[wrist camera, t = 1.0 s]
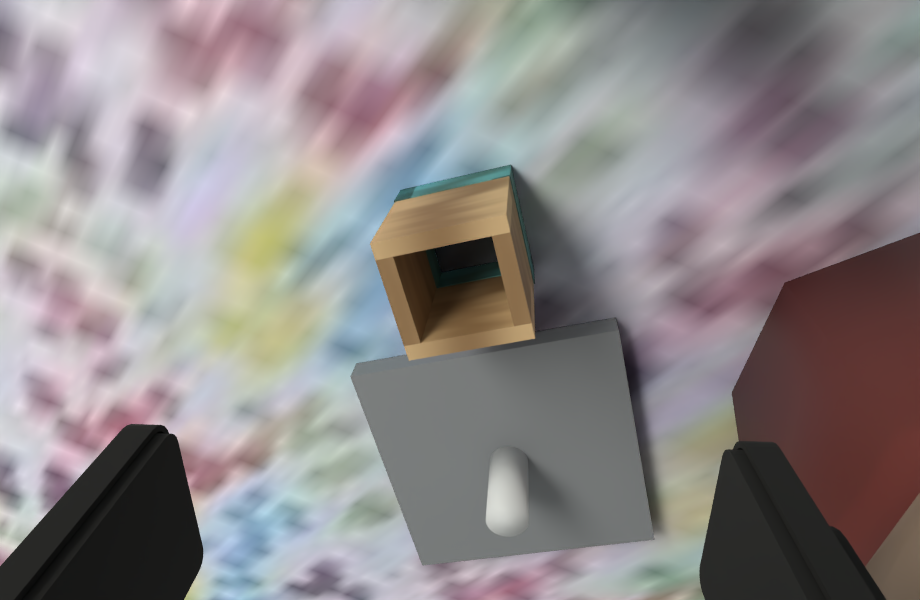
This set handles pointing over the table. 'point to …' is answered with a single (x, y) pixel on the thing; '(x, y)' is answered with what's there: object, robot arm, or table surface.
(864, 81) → the table surface
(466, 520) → the pin board
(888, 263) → the bucket
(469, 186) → the wooden sleeve
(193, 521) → the robot arm
